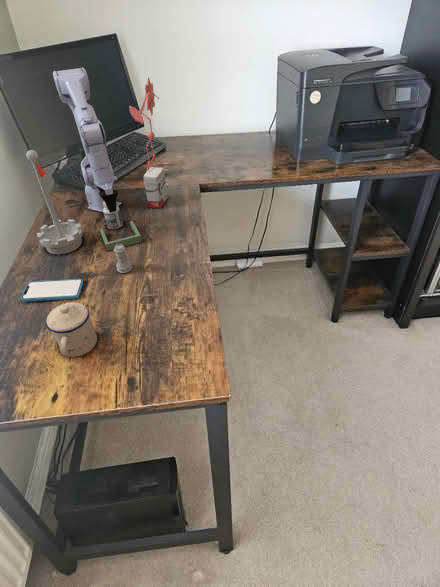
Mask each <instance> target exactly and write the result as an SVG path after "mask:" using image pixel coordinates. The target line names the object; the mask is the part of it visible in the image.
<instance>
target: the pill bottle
mask: <svg viewBox="0 0 440 587" xmlns="http://www.w3.org/2000/svg"><path fill="white" fill-rule="evenodd" d="M103 205H104V209H103V212H102V213H103V216H104V219H105V223H106V227H107V228H108V229H110V230H118V229H120V228H121V227H123V225H124V222H123V218H122V214H121V209H120V207H119V206H117V205H116V211H115V212H111V213H110V212H109V210H108V208H107V206H106V203H105V202H103Z"/></svg>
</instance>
